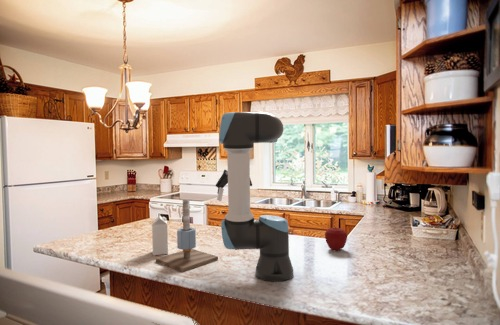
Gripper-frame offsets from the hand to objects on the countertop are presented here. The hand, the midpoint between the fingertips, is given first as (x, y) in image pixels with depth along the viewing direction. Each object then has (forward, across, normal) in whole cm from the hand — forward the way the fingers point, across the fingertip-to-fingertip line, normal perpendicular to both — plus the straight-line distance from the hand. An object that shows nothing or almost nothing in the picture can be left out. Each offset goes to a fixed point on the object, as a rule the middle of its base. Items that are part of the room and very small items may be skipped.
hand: (230, 199), depth 156 cm
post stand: (+31, +15, +4) cm, 34 cm away
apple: (+13, -41, -40) cm, 59 cm away
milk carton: (+28, +34, +2) cm, 44 cm away
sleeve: (+25, +14, +7) cm, 30 cm away
